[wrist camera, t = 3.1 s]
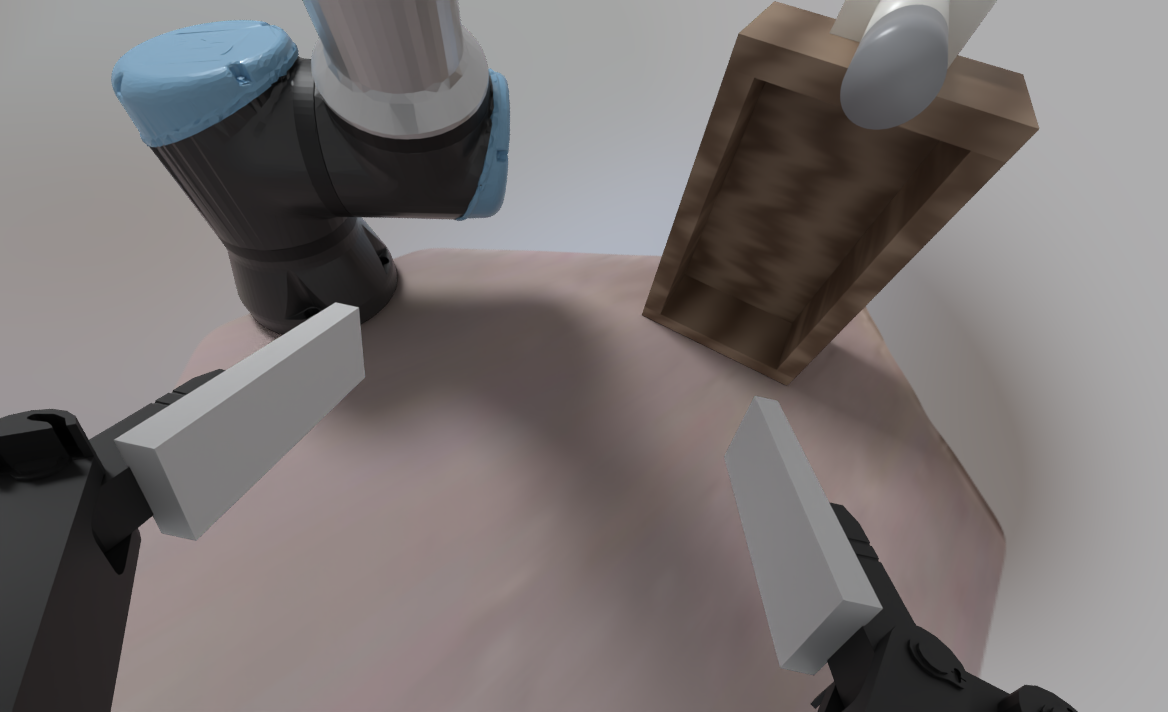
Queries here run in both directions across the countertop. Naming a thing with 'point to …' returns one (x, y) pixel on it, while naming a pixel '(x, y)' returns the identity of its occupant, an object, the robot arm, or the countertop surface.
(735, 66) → the open wooden box
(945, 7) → the knob
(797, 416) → the countertop surface
